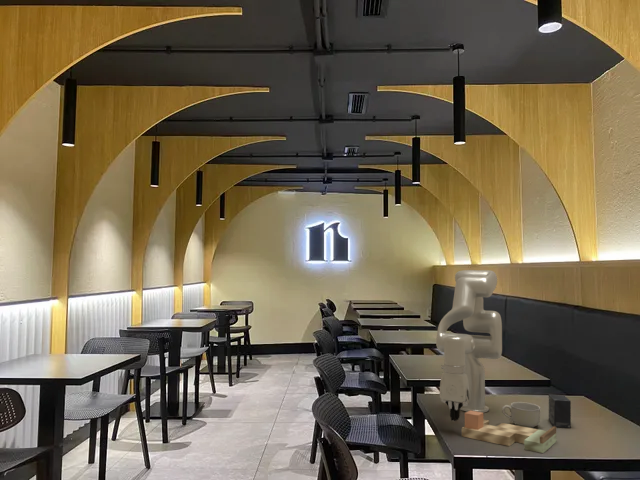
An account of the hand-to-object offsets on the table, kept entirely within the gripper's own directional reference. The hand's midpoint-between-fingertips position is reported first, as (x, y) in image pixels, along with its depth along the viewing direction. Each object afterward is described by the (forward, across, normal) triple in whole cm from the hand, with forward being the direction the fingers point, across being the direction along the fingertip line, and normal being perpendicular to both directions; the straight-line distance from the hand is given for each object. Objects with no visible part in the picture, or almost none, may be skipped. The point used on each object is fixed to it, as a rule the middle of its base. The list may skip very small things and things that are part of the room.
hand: (454, 419), depth 199 cm
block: (+1, +7, 0) cm, 7 cm away
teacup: (+4, +16, +24) cm, 29 cm away
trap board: (+4, +18, +4) cm, 19 cm away
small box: (+4, +27, +36) cm, 45 cm away
